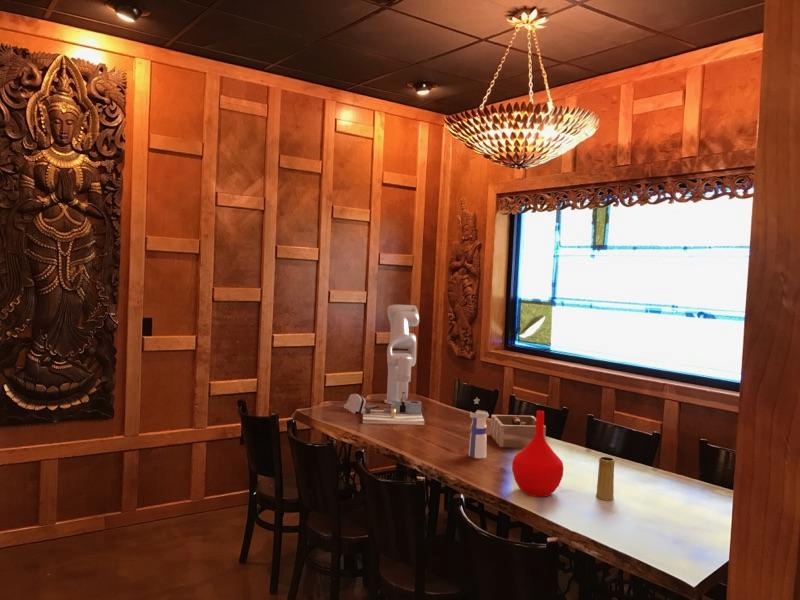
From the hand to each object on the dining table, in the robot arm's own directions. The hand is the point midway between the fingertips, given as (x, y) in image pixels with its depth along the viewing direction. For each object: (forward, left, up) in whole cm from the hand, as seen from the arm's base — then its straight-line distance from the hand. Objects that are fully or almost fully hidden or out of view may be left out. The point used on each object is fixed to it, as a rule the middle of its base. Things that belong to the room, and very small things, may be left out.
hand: (402, 411), depth 338 cm
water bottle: (+71, +29, -3) cm, 77 cm away
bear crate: (+45, +53, -3) cm, 69 cm away
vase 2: (+119, +67, -3) cm, 136 cm away
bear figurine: (+45, +55, -3) cm, 71 cm away
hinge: (-12, -26, -3) cm, 29 cm away
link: (0, 0, -1) cm, 1 cm away
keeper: (+1, -17, -3) cm, 17 cm away
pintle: (+11, -5, -3) cm, 13 cm away
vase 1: (+115, +43, -3) cm, 123 cm away
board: (+7, -5, -3) cm, 9 cm away
